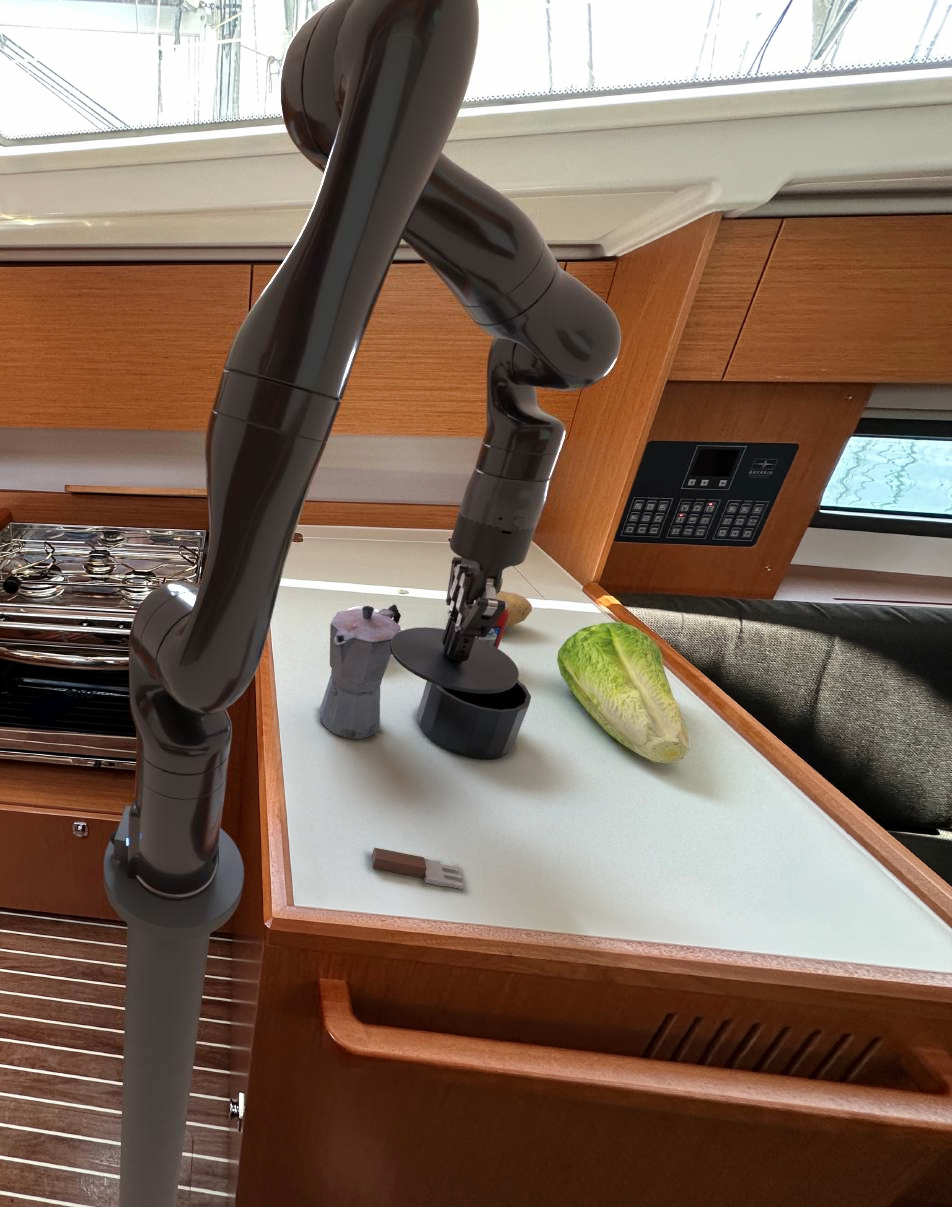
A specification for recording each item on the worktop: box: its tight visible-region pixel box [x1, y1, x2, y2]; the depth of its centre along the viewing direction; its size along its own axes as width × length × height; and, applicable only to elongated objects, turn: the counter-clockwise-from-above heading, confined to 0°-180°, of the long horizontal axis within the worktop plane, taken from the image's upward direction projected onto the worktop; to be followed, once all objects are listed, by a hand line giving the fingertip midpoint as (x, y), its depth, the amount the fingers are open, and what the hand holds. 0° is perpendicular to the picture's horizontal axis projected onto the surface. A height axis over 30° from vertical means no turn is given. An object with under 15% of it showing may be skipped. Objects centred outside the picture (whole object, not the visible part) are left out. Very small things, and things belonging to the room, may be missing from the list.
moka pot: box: [319, 604, 402, 739], centre depth 89 cm, size 10×15×20 cm, turn 132°
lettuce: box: [556, 621, 691, 764], centre depth 93 cm, size 14×24×14 cm
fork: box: [371, 847, 464, 890], centre depth 69 cm, size 10×3×2 cm, turn 77°
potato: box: [496, 590, 533, 629], centre depth 121 cm, size 10×14×8 cm
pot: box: [416, 679, 532, 761], centre depth 91 cm, size 13×13×8 cm
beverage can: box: [475, 598, 509, 649], centre depth 108 cm, size 7×7×12 cm
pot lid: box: [390, 619, 520, 694], centre depth 72 cm, size 14×14×6 cm
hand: (453, 652), depth 73 cm, fingers closed on pot lid, 2 cm apart
